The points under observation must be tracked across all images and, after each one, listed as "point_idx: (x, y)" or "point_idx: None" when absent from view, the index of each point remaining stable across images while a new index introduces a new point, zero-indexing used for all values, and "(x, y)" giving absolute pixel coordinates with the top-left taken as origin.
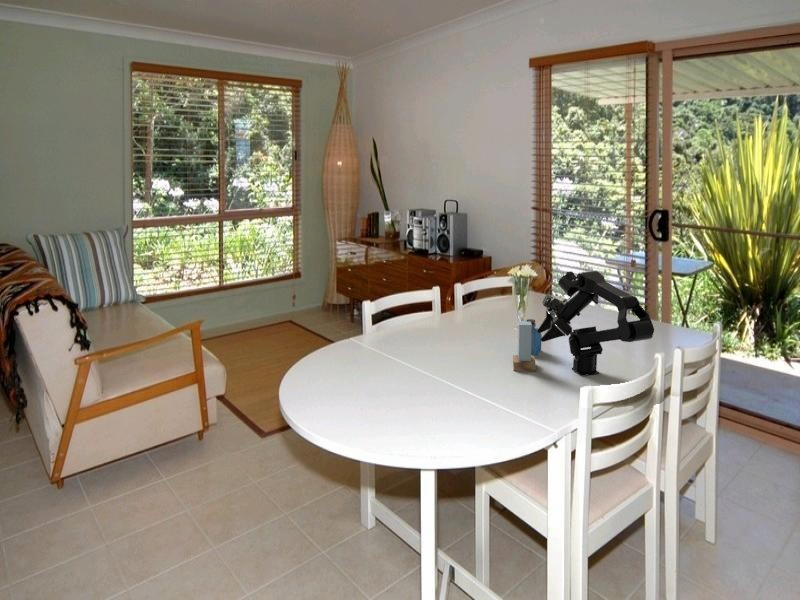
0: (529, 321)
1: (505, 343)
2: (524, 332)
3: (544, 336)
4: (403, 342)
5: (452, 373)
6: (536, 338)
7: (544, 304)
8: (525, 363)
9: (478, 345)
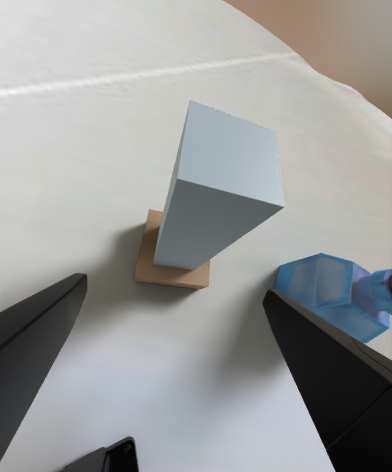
0: None
1: (337, 247)
2: (173, 175)
3: (37, 298)
4: (298, 94)
5: (147, 104)
6: (318, 312)
7: None
8: (141, 244)
9: (311, 190)
